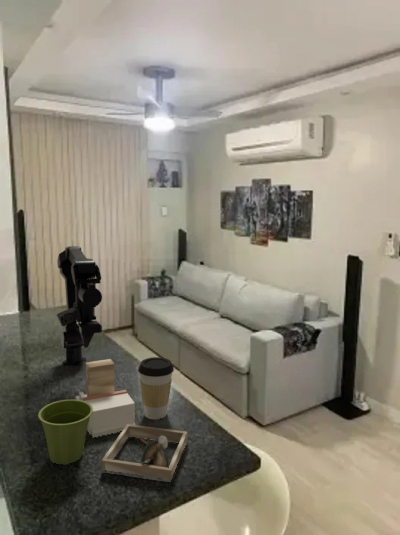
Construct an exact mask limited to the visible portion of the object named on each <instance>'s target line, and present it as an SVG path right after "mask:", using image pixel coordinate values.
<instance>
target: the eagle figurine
mask: <svg viewBox="0 0 400 535" xmlns="http://www.w3.org/2000/svg"><path fill="white" fill-rule="evenodd" d="M139 438H140V439H139ZM139 438H138V439H139V440H140V441H141V442H142V443H143V444H145V448H144V450H143V452H142V455H141V459H140V462H141V464H144V463H148V462H149V463H150V462H151V461H152V460H153V463H152V465H153V466H160V467H167V468H168V467H169V456H168V455H167V453H166V452H165V451H164V449H167V448H168V446H169V445H168V444H169V442H168V441H167V438H166V437H165V436H162V435H161V436H159V439H158V438H156V439H155V441H154V440H150V438H148V440H147V439H142V437H139ZM157 439H158V441H157ZM146 440H147V441H146ZM149 463H148V464H149Z"/></svg>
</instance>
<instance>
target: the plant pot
mask: <svg viewBox="0 0 400 535" xmlns="http://www.w3.org/2000/svg"><path fill="white" fill-rule="evenodd" d="M92 412H93V407H92V406H91V405H90V404H89V403H87V402H85V401H81V400H76V399H61V400H57V401H53V402H51V403H49V404H46V405H44V406H43V407H42V408H41V409H40V410H39V411H38V414H37V416H38V419H39V420H40V422H41V425H42V428H43V431H44V436H45V439H46V445H47V451H48V455H49V459H50V462H51V461H52V462H51V463H53V464H54V463H56V464H55V465H61V464H67V463H71V462H73V461H76V460H78V459H79V458H80V459H81V457H83V454H84V453H83V452H84V448H85V442H86V435H87V432H88V430H87V425H88V423H89V419H90V416H91V414H92ZM80 459H79V460H80ZM79 460H78V461H79ZM76 462H77V461H76Z"/></svg>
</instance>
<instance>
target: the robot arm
mask: <svg viewBox="0 0 400 535" xmlns="http://www.w3.org/2000/svg"><path fill="white" fill-rule="evenodd" d="M99 267H100V266H99V265H98V263H97V262H96V261H95V260H94V259H92V258H87V257H86V255H85V254H84V252H83V251H82V247H81V246H78V245H76V246H75V245H73V246H72V245H71V246H66V247H65V249H64V250H63V251H61V252H60V253H58V256H57V268H58V269H59V273H60V275H61V277H62V278H63V279H64V284H65V287H64V289H65V299H66V300H65V301H66V302H65V303H66V309H65V310H63V311H61V312H58V313H57V314H56V317H57V319H58V321H59V323H60V326H61V327H63V331H62V333H61V338H60V343H61V344H60V345H61V347H62V349H64V350H65V360H63V361H62V364H65V365H73V366H79V365H81V364H82V363H84V362H85V360H87V357H83V348H85V349H86V348H89V347H90V344H91V341H92V339H93V337H94V335H95V334H100V333H102V332H103V325H102V324H101V323H100V322H99V321H97V316H96V315H95V312H96V311H95V310H96V309H95V308H96V307H97V306H98V305H99V304H100V303H101V302H102V299H103V294H102V292H101V291H100V289H98V288H97V286H96V285H97V284H101V280H102V275H101V270H100V268H99Z"/></svg>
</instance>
